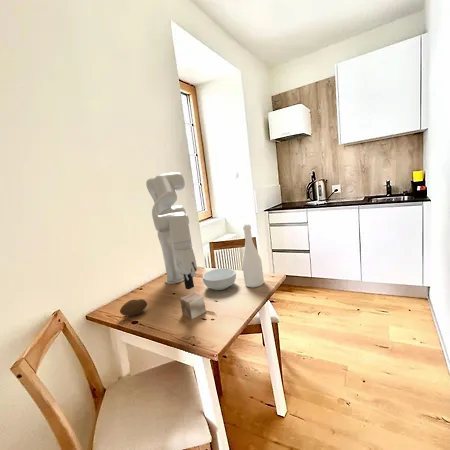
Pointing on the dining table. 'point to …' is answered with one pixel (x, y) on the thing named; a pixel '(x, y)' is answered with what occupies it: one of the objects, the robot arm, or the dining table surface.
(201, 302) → the cube
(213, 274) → the cereal bowl
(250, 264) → the wine bottle
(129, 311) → the potato
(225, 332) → the dining table surface
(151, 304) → the dining table surface
